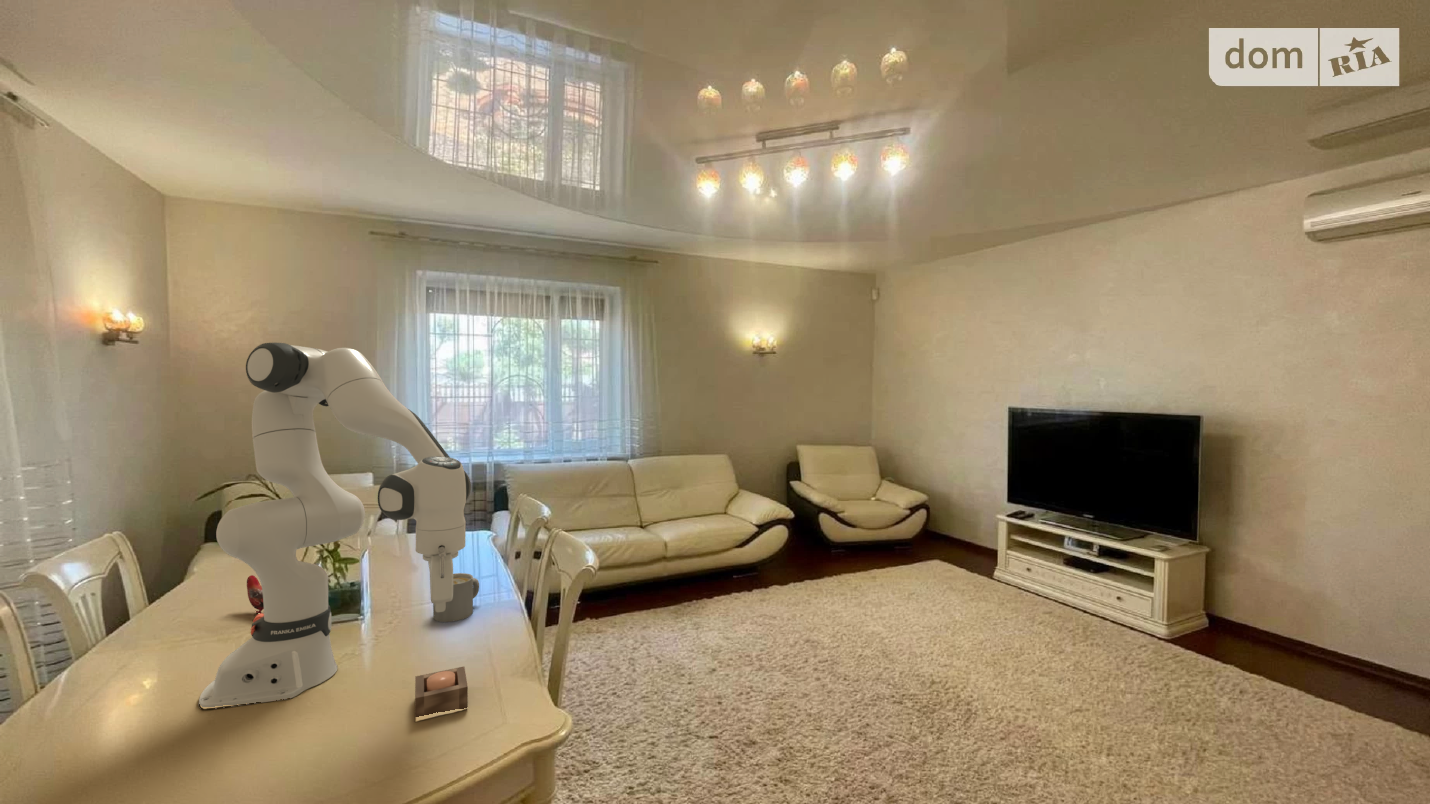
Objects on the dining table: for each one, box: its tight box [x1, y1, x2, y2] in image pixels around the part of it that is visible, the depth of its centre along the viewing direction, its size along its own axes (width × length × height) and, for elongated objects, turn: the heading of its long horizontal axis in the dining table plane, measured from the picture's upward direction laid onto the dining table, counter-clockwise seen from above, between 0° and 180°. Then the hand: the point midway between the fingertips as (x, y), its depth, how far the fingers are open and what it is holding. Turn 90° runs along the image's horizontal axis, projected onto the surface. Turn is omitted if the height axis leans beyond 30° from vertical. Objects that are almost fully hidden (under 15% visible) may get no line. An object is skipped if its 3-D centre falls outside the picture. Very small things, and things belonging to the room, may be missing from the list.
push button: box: [427, 670, 455, 692], centre depth 109 cm, size 5×5×4 cm
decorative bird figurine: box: [246, 574, 264, 614], centre depth 151 cm, size 3×18×10 cm, turn 59°
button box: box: [414, 666, 469, 718], centre depth 109 cm, size 9×9×4 cm
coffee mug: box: [432, 572, 480, 623], centre depth 154 cm, size 13×10×10 cm
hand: (440, 609), depth 109 cm, fingers closed
